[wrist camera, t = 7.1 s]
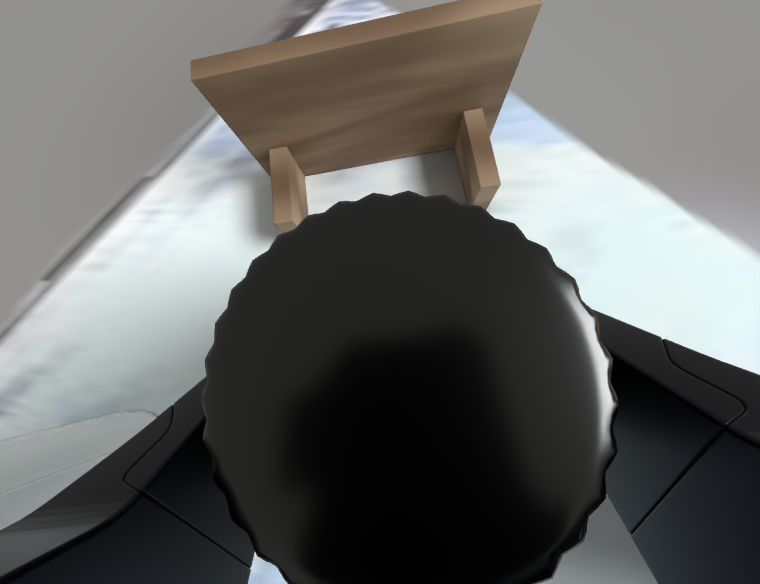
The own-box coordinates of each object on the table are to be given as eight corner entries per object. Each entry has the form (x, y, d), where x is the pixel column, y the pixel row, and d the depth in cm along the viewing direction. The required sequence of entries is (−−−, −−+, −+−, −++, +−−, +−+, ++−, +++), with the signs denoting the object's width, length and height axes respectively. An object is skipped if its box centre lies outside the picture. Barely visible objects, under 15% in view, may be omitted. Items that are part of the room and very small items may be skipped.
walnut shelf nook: (503, 207, 21) (574, 105, 12) (279, 245, 22) (191, 179, 13) (484, 128, 22) (535, -17, 13) (273, 168, 23) (190, 60, 14)
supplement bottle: (325, 320, 16) (77, 243, 4) (439, 271, 16) (523, 40, 4) (373, 445, 14) (194, 898, 3) (499, 392, 14) (928, 614, 2)
